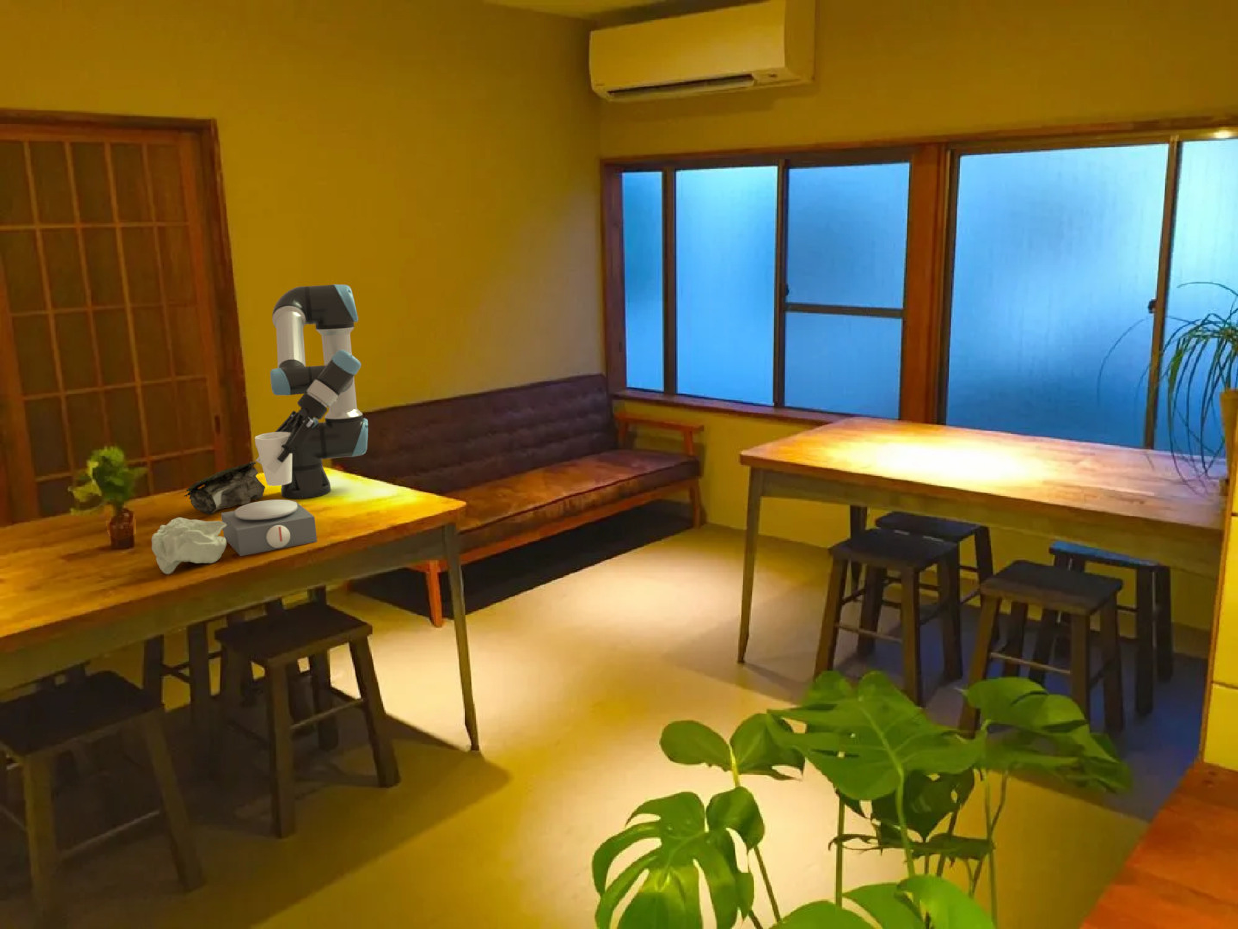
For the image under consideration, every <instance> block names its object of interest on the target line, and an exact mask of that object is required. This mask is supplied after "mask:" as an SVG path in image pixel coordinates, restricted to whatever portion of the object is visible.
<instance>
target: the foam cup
mask: <svg viewBox="0 0 1238 929" xmlns="http://www.w3.org/2000/svg"><path fill="white" fill-rule="evenodd" d="M290 434H291V433H290V432H275V431H274V432H273V431H272V432H266V433H262V434H258V435H256V436H255V437H254V441H255V447H256V449H257V452H258V457H259V456H260V460H261V464H262V465H261V464H260V465H261V467H262V470H263V474H264V478H265V482H266V485H268V486H270V487H271V486H272V487H275V486H277V487H278V486H282V485H285V484H289V483H291V482H292V454H291V453H290V455H289V456H288V458H287V459H286V460H285V462H284V463H283V464H282V465H281V467H280V468H279V469H278V471H277V472H276V473H273V472H272V471H270V470H269V469H268V468H266V467H267V466H268V464H269V463H270V462H271V460H272V459H273V458H274V457H275V455H276V454H277V453H278V451H279V450H280V449H281V448H282V447H281V446H282V445H285V444H286V442H287V440H288V438H289V436H290ZM283 449H284V448H283Z"/></svg>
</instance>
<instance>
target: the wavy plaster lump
mask: <svg viewBox="0 0 1238 929" xmlns="http://www.w3.org/2000/svg"><path fill="white" fill-rule="evenodd" d="M225 527H226V523H224V522H222V520H221V521H220V520H211V521H210V520H209V521H206V520H200V519H199V520H198V519H188V518H184V517H181V516H180V517H176V518H173V519H171V520H170V521H169V522H168V523H167V524H166V525H165V524H161V525H160V526H159V529H157V532H155V533H153V534H152V537H151V550H152V552H153V554H154V556H156V557H155V560H156V562H157V563H156V564H157V565H158V566H159V569H160V571H161V572H162V573H163V574H165V575H170V574H172V573H173V572H175V570H176V568H177V567H178V565H180V564H181V563H182V562H185V563H188V562H190V563H194V564H214V563H216V562H217V561H219V559H221V557H222V554H223V553H225V550H226V547H227V543H228V541H227V540H226V539H225V537H224V536H221V535H220V534H221V531H223V528H225Z"/></svg>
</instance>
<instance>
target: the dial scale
mask: <svg viewBox="0 0 1238 929" xmlns="http://www.w3.org/2000/svg"><path fill="white" fill-rule="evenodd" d="M220 515H221V516H220V517H221V522H224V523H226V527H225V528H223V529H222V532H223V537H225V539H226V542H227V543H228V544H229V545H230V547H232V549H234V551H235V552H236V554H238V555H239V557H243V556H248V555H253V554H258V553H264V552H270V551H274V550H275V551H276V550H279V549H284V548H285V549H286V548H289V547H295V546H302V545H305V544H311V543H312V544H313V543H316V542H318V536H317V529H316V528H317V527H316V520H315V519H316V518H315V516H314V515H313V514H312V513H310V511H308V510H307V509H306V508H305V507H303V506H302V505H301V504H300V503H298V502H297V501H296V500H289V499H269V500H268V499H267V500H260V501H255V502H249V503H246V504H242V506H239V507H238V508H236V509H235V510H231V511H226V512H220Z"/></svg>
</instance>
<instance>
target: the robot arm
mask: <svg viewBox="0 0 1238 929" xmlns="http://www.w3.org/2000/svg"><path fill="white" fill-rule="evenodd" d="M271 316H272V318H271V319H272V323H273V325H274V326H273V327H274V328H275V329H276V348H277V349H276V351H277V368H272V369H271V370H270V372H269V373H270V374H269V375H270V377H269V378H270V385H271V386H270V387H271V391H272V393H273V395H275V396H287V397H288V396H292V395H293V396H295V395H301V397H300V398H299V399H298V401H297V405H298V406H299V407H300V409H299V410H298V411H296V410H293V411H291V413H290V415H289V416H288V417H287V418H286V420H284V421H283V423H282V424H281V425H280V426H279V427H278V428H277V429H276V430H275V431H274V432H290V433H291V434H290V436H289V438H288V440H287V442H286V444H285V445H282V446H281V447H282V448H281V449H280V450H279V451H278V453H277V454H276V455H275V457H274V458H273V459H272V460H271V462H270V463H269V464H268V466H267V467H266V468H268V469H269V470H270V471H272V472H273V473H276V472H277V471H278V469H279V468H280V467H281V465H282V464H283V463H284V462H285V460H286V459H287V458H288V456H289V455H290V453H291V454H292V482H291V483H289V484H285V485H280V487H281V488H280V490H281V491H280V492H281V496H282V497H283V498H286V499H297V500H300V499H312V498H316V497H321V496H324V495H326V494H328V493H330V492H331V491H332V488H331V482H330V480H329V478H328V476H327V473H326V471H325V469H324V467H323V466H324V465H323V460H328V459H338V458H339V459H340V458H349V457H350V458H353V457H358V456H359V457H360V456H363V455H364V454H366V452H367V450H368V438H369V434H368V433H369V427H368V426H369V421H368V419H367V418H364V417H363V412H361V411H360V410H359V409H358V405H357V394H356V385H355V384H356V383H355V375H357V374H358V372H359V370H360V369H361V367H362V363H361V361H360V360H359V359H358V358H356V357H355V356H354V355H353V354H352V352H353V351H352V342H351V341H352V340H351V332H352V331H353V330H354V328H355V323H357V322H358V321H359V316H358V312H357V308H356V303H355V299H354V295H353V291H352V288H351V287H350V286H349V285H347V284H335V283H334V284H329V285H328V284H326V285H310V286H309V285H308V286H306V285H305V286H296V287H294V288H292V289H289V290H288V291H287V292H285V293H284V294H283V295H281V297H280V298H279V299H278V300H277V302H276V303H275V305H274V307H273V310H272V315H271ZM305 325H315V330H316V332H318V333H319V334H320V335H321V342H322V353H323V362H324V363H323V365H310V366H306V355H305V354H306V353H305V340H304V337H305V336H304V327H305ZM327 411H328V412H327ZM323 417H324V421H323V422H319V421H320V420H322V418H323ZM283 448H284V449H283ZM255 462H256V463H259V464H260V465H261V466H262V464H261V460H260V456H259V455H258V457H257V459H255Z"/></svg>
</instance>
